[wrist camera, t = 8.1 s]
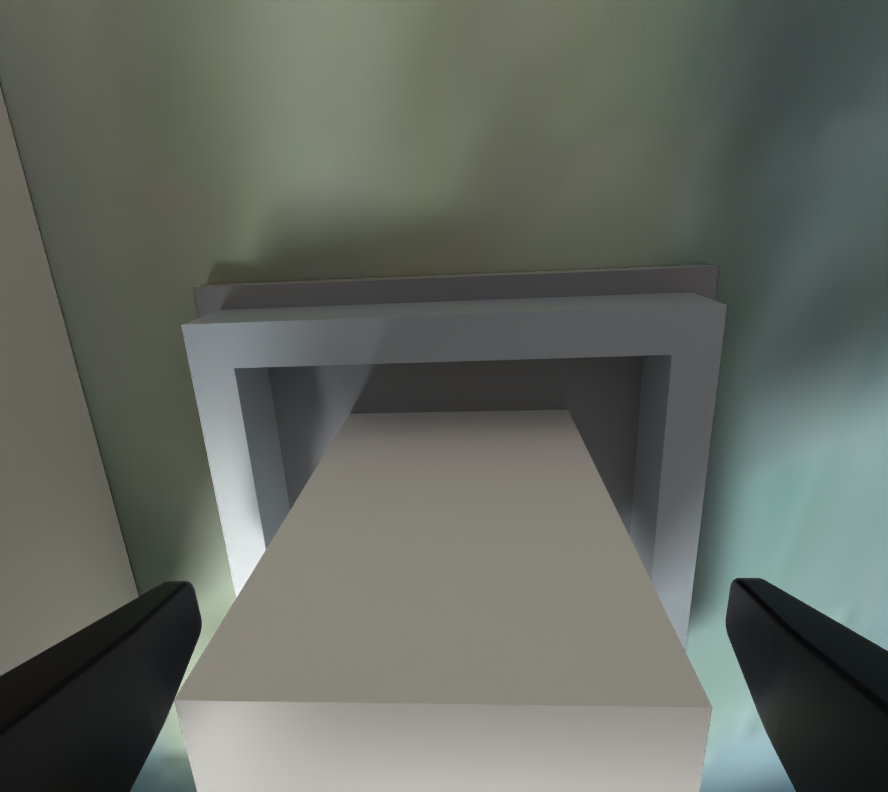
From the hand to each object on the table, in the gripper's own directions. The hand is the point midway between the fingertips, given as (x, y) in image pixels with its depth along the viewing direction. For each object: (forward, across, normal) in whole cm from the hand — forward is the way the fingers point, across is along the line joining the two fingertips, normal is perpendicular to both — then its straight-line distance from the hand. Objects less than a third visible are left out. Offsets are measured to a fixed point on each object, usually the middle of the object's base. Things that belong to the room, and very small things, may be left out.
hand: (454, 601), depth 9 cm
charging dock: (+4, 0, 0) cm, 4 cm away
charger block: (+3, 0, 0) cm, 3 cm away
